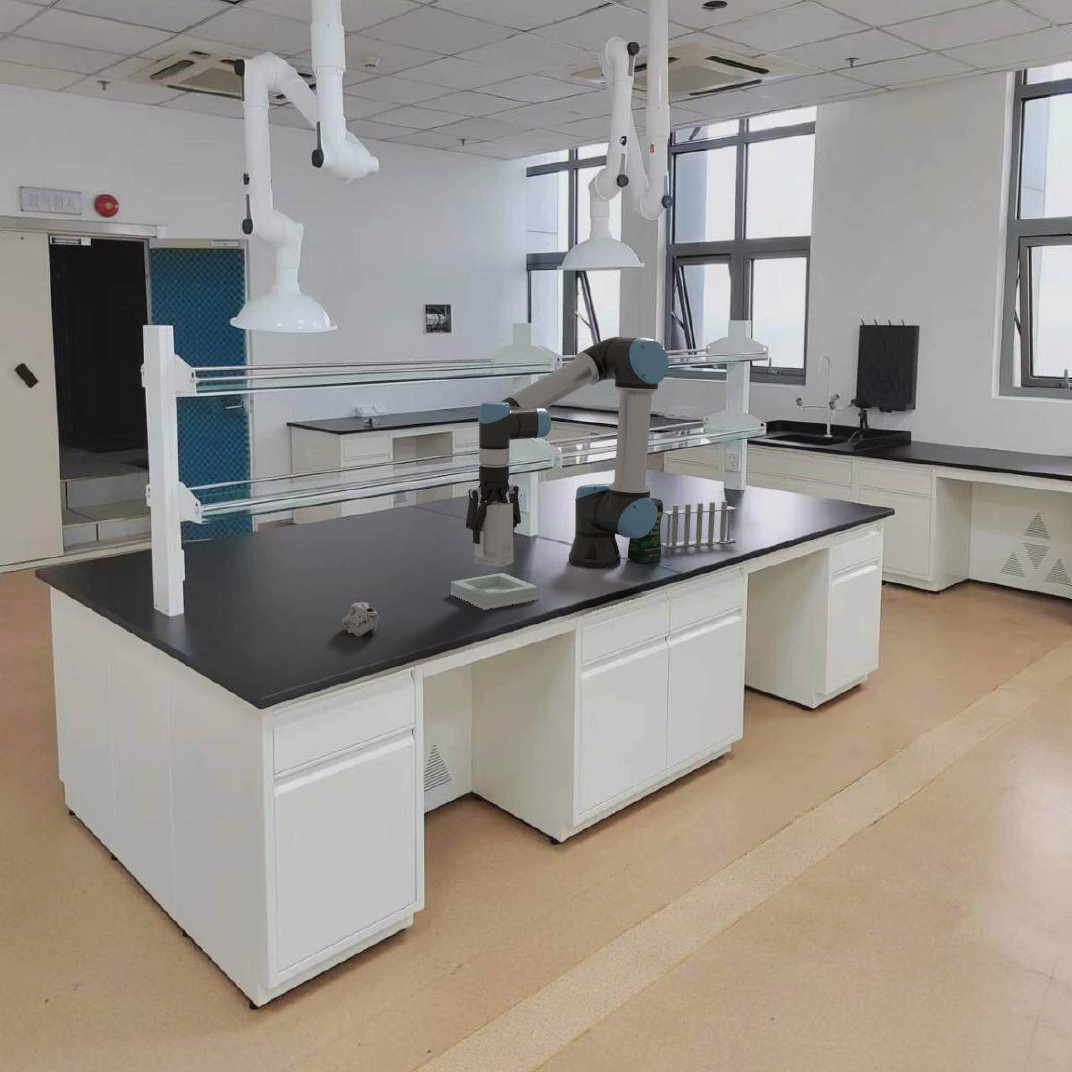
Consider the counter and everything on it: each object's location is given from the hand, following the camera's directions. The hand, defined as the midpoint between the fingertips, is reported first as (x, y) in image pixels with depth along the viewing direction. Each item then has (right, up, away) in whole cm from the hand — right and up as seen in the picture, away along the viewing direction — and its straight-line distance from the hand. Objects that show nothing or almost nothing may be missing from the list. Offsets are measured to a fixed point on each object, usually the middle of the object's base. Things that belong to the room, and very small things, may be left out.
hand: (493, 553), depth 261 cm
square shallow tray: (0, -11, +3) cm, 11 cm away
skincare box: (0, -3, 0) cm, 3 cm away
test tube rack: (+62, +2, +64) cm, 89 cm away
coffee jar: (+43, -3, +42) cm, 60 cm away
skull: (-29, -18, -27) cm, 43 cm away
